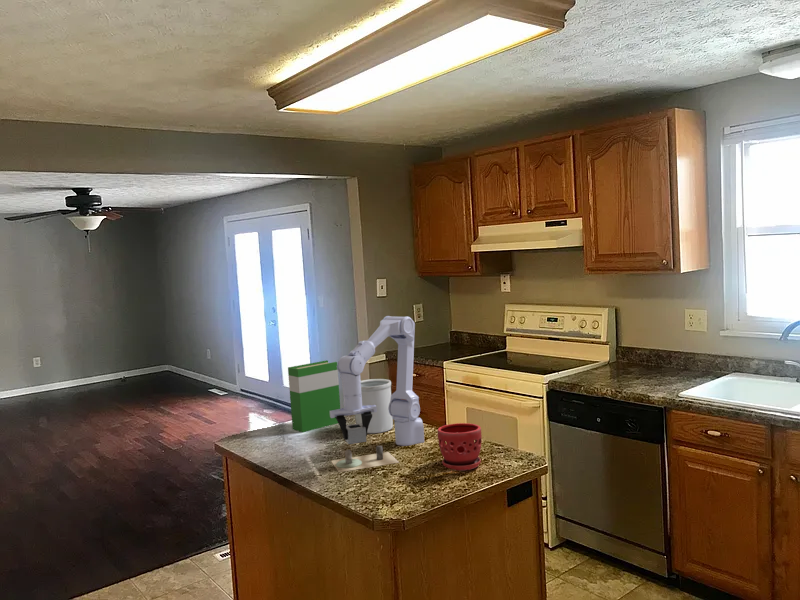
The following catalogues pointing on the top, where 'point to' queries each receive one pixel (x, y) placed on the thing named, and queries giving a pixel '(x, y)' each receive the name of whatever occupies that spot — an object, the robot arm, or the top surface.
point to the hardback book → (313, 395)
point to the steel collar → (356, 433)
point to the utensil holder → (377, 404)
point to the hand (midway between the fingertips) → (355, 437)
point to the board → (364, 460)
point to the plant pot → (460, 445)
